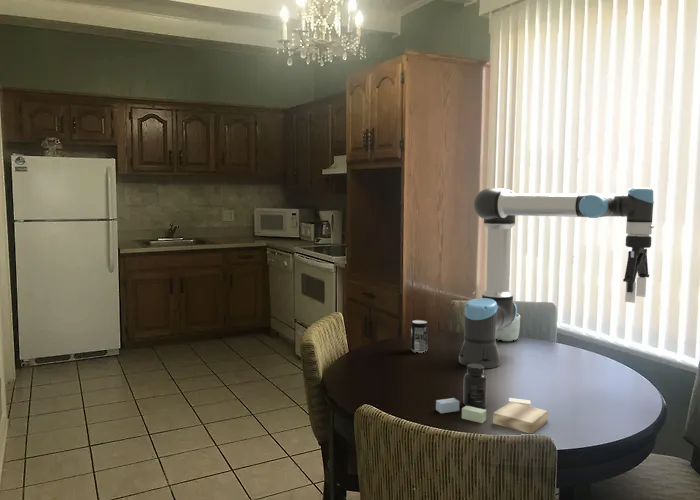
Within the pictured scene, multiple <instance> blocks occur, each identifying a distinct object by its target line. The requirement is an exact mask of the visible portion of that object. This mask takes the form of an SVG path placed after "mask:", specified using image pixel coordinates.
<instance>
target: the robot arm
mask: <svg viewBox="0 0 700 500" xmlns="http://www.w3.org/2000/svg"><path fill="white" fill-rule="evenodd" d="M654 204H655V201H654V190H653V188H650V187H630V188H628V190H627V193H622V194H620V193H516V192H515V191H513V190H511V189H507V188H503V187H502V188H485V189H482V190H480V191H479V192H478V193H477V194H476V195H475V197H474V200H473V209H474V211H475V213H476V215H478V217H479V218H482V219H483V225H484V226H485V227H486V228H487V240H486V241H487V246H486V248H487V250H486V251H487V252H486V253H487V254H486V255H487V256H486V286H485V287H486V289H485V290H484V291H483V292H482V295H481V297H479V298H472V299H470V300H467V301H466V303H465V305H464V311H463V315H464V317H463V319H464V321H463V322H464V323H463V327H464V329H463V331H464V333H463V344H462V347H461V349H460V352H459V354H458V363H460V365H463V366H465V367H467V365H468V364H473V363H475V364H481V365H483V366H484V369H494V368H497V367H499V366H501V359H502V358H501V355H500V351H499V349H498V346H497V340H496V330H499V329H501V328H505V327H507V326H509V325H510V324H511V323H512V322H513V321H514V320H515V318H516V316H517V314H518V307H517V304H516V302H514V294H513V293H512V292H511V291H510V272H511V271H510V270H511V237H512V236H511V231H512V228H513V227H514V226H516V216H527V217H528V216H529V217H530V216H531V217H538V216H539V217H565V218H566V217H570V218H571V217H573V218H574V217H575V218H589V219H598V218H603V217H606V218H607V217H621V218H622V217H623V218H624V217H626V225H625V228H626V229H625V234H626V236H625V246H626V247H627V248H631V250H628V253H627V263H626V267H625V272H624V273H625V274H624V278H623V279H622V282H625V296H624V299H625V301H624V303H631V304H635V303H636V297H641V298H646V291H647V289H646V288H647V286H646V285H647V278H650V274H649V268H648V267H649V266H648V249H649V248H652V236H650V235H652V233H653V230H652V229H654V228H655V226H654V225H653V214H654Z"/></svg>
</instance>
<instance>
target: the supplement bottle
mask: <svg viewBox="0 0 700 500" xmlns="http://www.w3.org/2000/svg"><path fill="white" fill-rule="evenodd" d="M466 367H467V369H466V373H465V374H464V376H463V387H462V388H463V392H462V393H463V395H462V397H463V399H462V400H463V401H462V402H463V405H465V406H466V405H467V406H471V407H475V408H480V409H483V408H486V406H487V397H488V396H487V395H488V394H487V393H488V377H487V375H486V374H485V368H484V366H483V365H481V364H475V363H473V364H468V365H467V366H466ZM465 406H464V407H465Z"/></svg>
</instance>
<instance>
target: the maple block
mask: <svg viewBox="0 0 700 500" xmlns="http://www.w3.org/2000/svg"><path fill="white" fill-rule="evenodd" d="M492 415H493V416H492V417H493V418H492V424H493V425H498V426H501V427H505V428H508V429H513V430H516V431H518V432H523V433H527V434H530V433H533V434H534V433H535V432H536V431H538V430H539V429H540V428H542V427H543V426H544V425H545V424H547V423H548V422H549V410H545V409H542V408H537V407H534V406H531V407H530V406H526V405H522V404H518V403H514V402H509V401H508V403H506V404H505V405H503V406H501V407H500V408H498V409H497V410H495V411H494V412H493V413H492Z"/></svg>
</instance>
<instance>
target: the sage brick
mask: <svg viewBox="0 0 700 500" xmlns="http://www.w3.org/2000/svg"><path fill="white" fill-rule="evenodd" d="M461 419H462V420H467V421H471V422H475V423H479V424H483V423H485V421H487V409H483V408H475V407H471V406H467V405H466V406H463V407H462V408H461Z"/></svg>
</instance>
